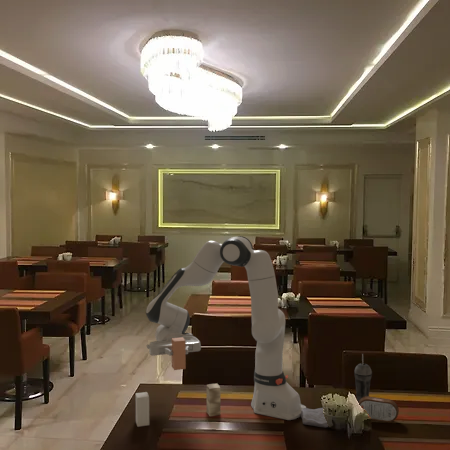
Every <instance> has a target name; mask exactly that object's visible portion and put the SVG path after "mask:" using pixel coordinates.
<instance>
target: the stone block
mask: <svg viewBox="0 0 450 450" xmlns="http://www.w3.org/2000/svg"><path fill="white" fill-rule="evenodd" d="M323 408H324V407H319V408H315V409H312V408H308V407H306V408H304V409H303V410H302V411H301V416H300V418H301V419H302V424H303V425H305V426H306V425H308V426H313V427H319V428H329V427H328V425H327V421H326V419H325V417H324V414H323Z"/></svg>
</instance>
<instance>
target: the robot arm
mask: <svg viewBox="0 0 450 450" xmlns="http://www.w3.org/2000/svg"><path fill="white" fill-rule="evenodd" d="M223 263H225V264H228V265H231V266H235V267H242V268H243V267H244V268H245V270H246V276H247V282H248V287H249V294H250V295H249V296H250V304H251V305H250V307H251V308H250V309H251V310H250V311H251V312H250V313H251V314H250V315H251V335H252V337H253V339H254V340H255V341H256V347H255V348H256V349H255V352H254V353H255V355H254V356H255V357H254V359H255V361H254V363H255V367H254V370H253V382H254V388H253V396H252V399H251V403H250V406H251V408H252V409H253V412H254V413H255V414H258V415H262V416H266V417H272V418H276V419H281V420H287V421H291V420H297V418H298V419H299V418H301V411H302V410H303V409H304V408H307V406H306V405H304V404H302V403H301V398H300V397H301V396H300V394H299V393H298V392H297V391H296V390H295V389H294V388H293V387H292V385H290V384H289V383H288V382H287V379H288V378H289V374H287V375H285V373H284V371H283V365H284V364H283V361H284V359H283V355H284V354H283V353H284V343H285V334H286V333H285V332H286V315H285V313H284V312H283V311H282V310H281V309H280V308H279V292H278V286H277V279H276V274H275V269H274V265H273V262H272V259H271V256H270V254H269V253H268V252H267V251H266V250H264V249H263V250H262V249H257V250H256V249H254V248H253V244H252V241H251V240H249V238H248V237H245V236H242V235H239V236H232V237H230V238H228V239H226V240H225V241H223V242H222V243H220V242H218V241H217V240H208V241H206V242H204V244H203V245H202V246H201V247H200V249H199V250H198V252H197V253H196V254H195V257H194V258H193V260H192V261H191V263H189V264H188V265H187V266H185V267H181V268H179V269H178V270H176V271H175V273H174V274H173V275H172V276H171V278H170V279H169V280H168V281H167V283H165V285H164V286H163V287H162V289H161V290H160V291H159V293H158V294H157V295H155V296H154V297H153V298H152V300H151V301H150V302H149V303H148V305H147V306H146V310H145V315H146V318H147V319H148V321H149V322H151V323H155V324H159V325H158V326H157V327H156V329H155V334H154V335H155V341H150V342H149V344H146V348H147V349H149V356H163V355H168V356H171V357H172V355H173V350H172V338H180V337H183V338H184V339H185V344H186V355H188V354H189V353H194V352H200V351H201V349H202V345H201V340H199V339H198V338H197V337H196V336H194V335H193V333H191V332H186V331H187V330H188V328H189V325H190V321H191V318H190V314H189V310H187V309H185V308H183V307H181V306H178V305H176V304H174V303H171V302H169V301H168V300H169V299H170V298H171V297H172V296H173V294H175V292H176V291H177V289H180V288H181V287H185V286H186V287H187V286H190V287H191V286H192V287H193V286H194V287H203V286H206V285H209V284H210V283H211V282H212V281H213V279H214V278H215V276H216V275H217V273H218V271H219V269H220V268H221V266H222V265H223Z"/></svg>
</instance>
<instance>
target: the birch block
mask: <svg viewBox="0 0 450 450" xmlns="http://www.w3.org/2000/svg"><path fill="white" fill-rule="evenodd" d="M206 413H207V415H208V416H209V417H215V416H221V387H220V385H219V384H218V382H217V383H209V384H206Z"/></svg>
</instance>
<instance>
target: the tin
mask: <svg viewBox="0 0 450 450" xmlns="http://www.w3.org/2000/svg"><path fill="white" fill-rule="evenodd" d="M357 402H358V403H359V405H360V406H361V407H362V408H363V409H365V410H366V411H367V413H368V414H369V416H370V417H371V419H372V421H378V422H385V423H392V422H394V421H395V420H396V419H397V418H398V416H399V412H400V411H399V410H400V409H399V407H398V404H397V403H396V402H395V401H394V400H392V399H390V398H384V397H383V398H382V397H375V396H371V395H369V396H366V397H363V398H361V399H360V400H359V401H357ZM358 403H357V404H358ZM371 419H370V420H371Z"/></svg>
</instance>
